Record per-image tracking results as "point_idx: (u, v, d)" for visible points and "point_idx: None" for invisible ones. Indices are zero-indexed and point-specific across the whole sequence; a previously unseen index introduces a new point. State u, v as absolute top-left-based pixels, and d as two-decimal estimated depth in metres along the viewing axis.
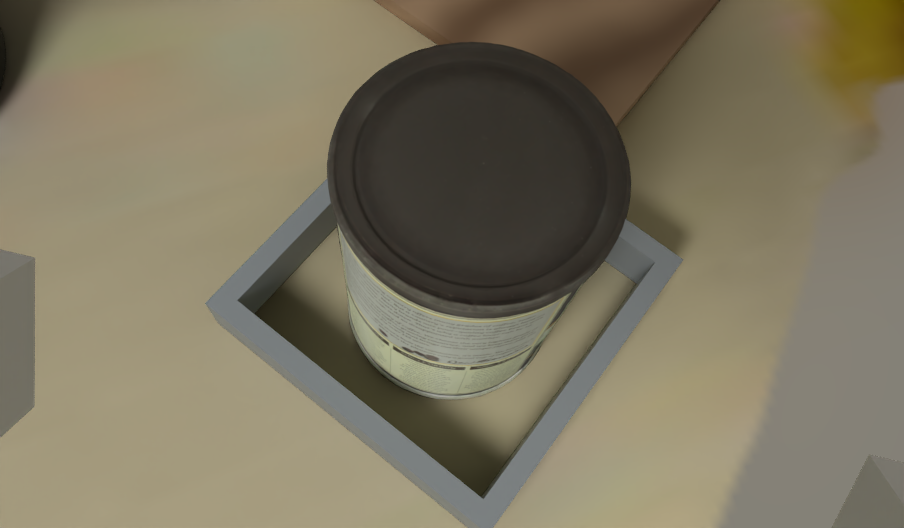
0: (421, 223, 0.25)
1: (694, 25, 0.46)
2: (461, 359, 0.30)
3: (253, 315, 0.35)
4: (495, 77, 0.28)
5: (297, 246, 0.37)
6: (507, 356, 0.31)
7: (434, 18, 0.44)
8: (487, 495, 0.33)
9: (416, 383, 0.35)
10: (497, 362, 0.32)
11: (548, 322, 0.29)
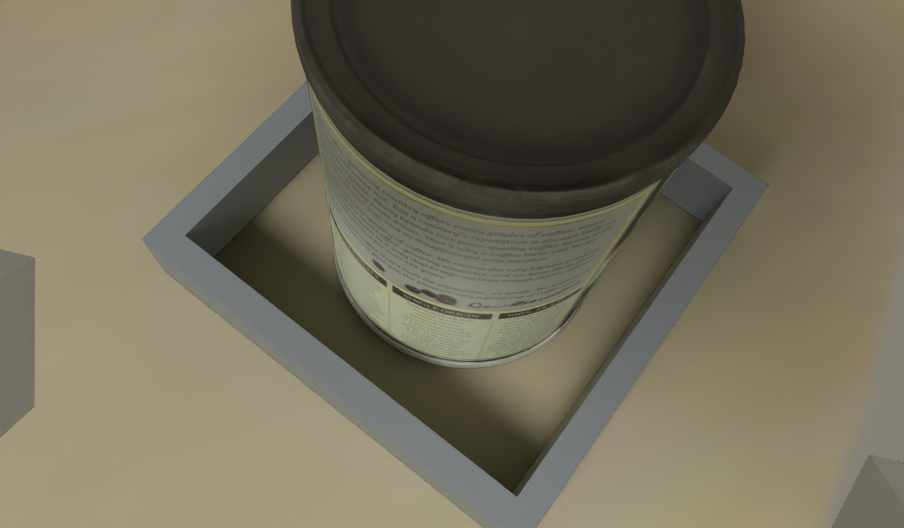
0: (433, 74, 0.17)
1: None
2: (488, 300, 0.22)
3: (206, 254, 0.26)
4: None
5: (266, 169, 0.28)
6: (551, 298, 0.23)
7: None
8: (522, 492, 0.24)
9: (423, 345, 0.27)
10: (536, 307, 0.23)
11: (613, 243, 0.20)
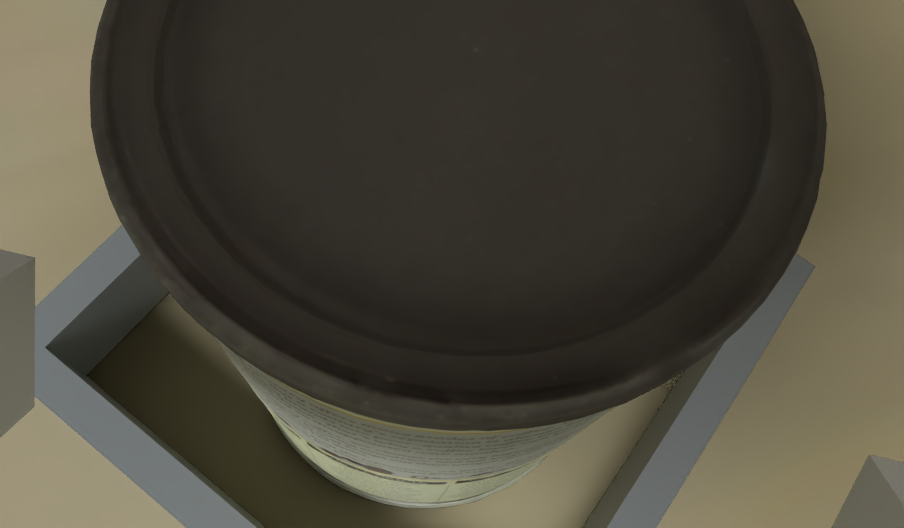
0: (320, 190, 0.10)
1: None
2: (436, 475, 0.15)
3: (71, 374, 0.20)
4: None
5: None
6: (528, 461, 0.16)
7: None
8: None
9: (364, 488, 0.20)
10: (508, 471, 0.16)
11: None
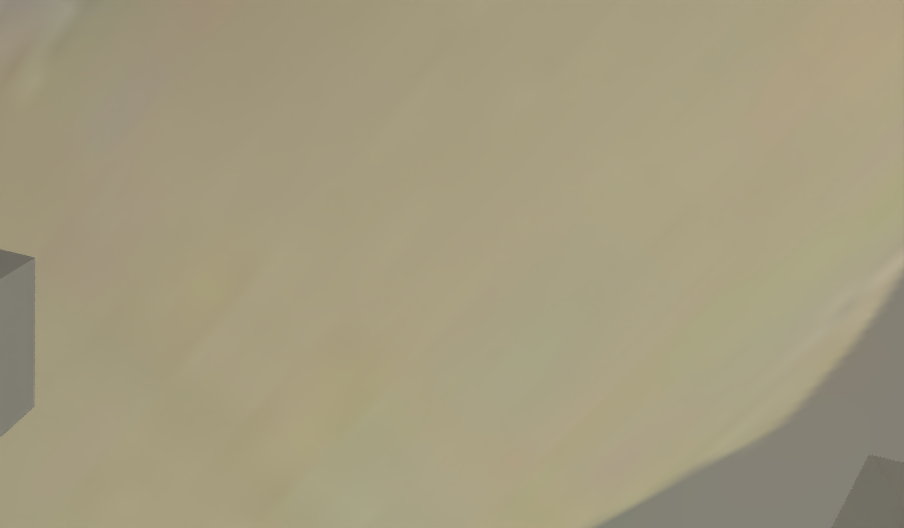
0: None
1: None
2: None
3: None
4: None
5: None
6: None
7: None
8: None
9: None
10: None
11: None
